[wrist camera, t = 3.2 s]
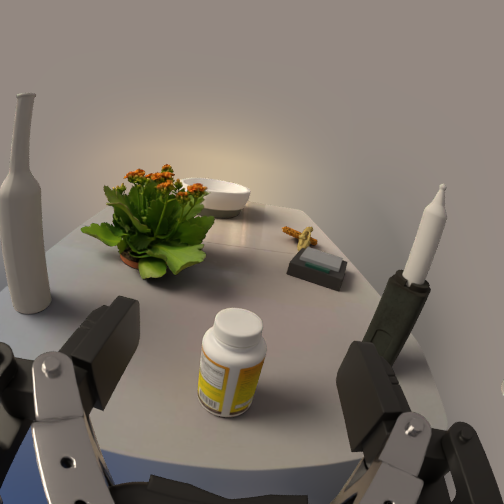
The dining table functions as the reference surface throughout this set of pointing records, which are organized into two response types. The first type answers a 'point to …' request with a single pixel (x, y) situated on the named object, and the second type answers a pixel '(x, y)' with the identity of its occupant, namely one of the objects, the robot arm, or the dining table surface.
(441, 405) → the dining table surface
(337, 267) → the scale
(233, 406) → the supplement bottle
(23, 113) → the bottle
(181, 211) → the potted flower
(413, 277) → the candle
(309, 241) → the ornament
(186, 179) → the bowl
